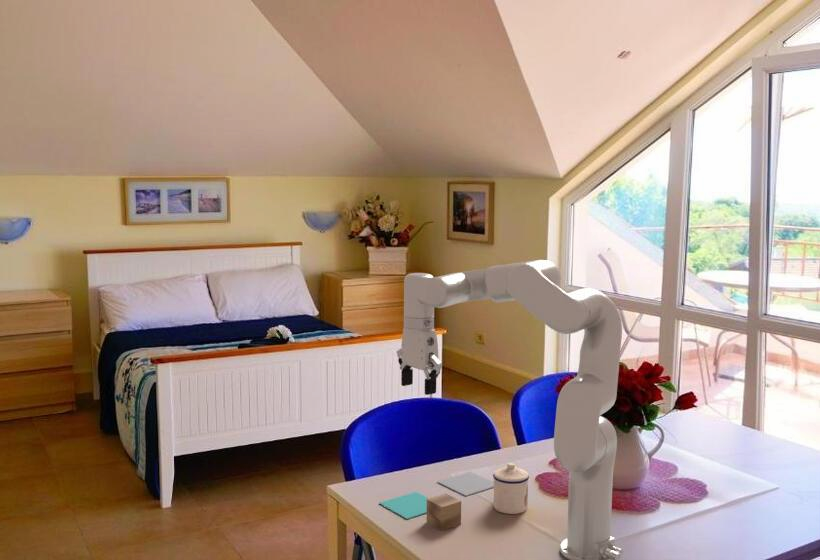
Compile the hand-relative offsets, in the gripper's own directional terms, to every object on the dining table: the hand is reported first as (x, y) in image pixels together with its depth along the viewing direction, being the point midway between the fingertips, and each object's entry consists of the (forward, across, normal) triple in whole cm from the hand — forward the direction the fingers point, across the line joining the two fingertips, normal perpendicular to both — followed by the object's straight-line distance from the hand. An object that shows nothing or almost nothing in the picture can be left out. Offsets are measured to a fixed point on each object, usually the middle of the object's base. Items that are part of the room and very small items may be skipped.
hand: (418, 389), depth 210 cm
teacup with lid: (+31, -14, -19) cm, 39 cm away
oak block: (+31, -12, +1) cm, 33 cm away
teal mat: (+31, +1, +1) cm, 31 cm away
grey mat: (+31, +3, -20) cm, 37 cm away
